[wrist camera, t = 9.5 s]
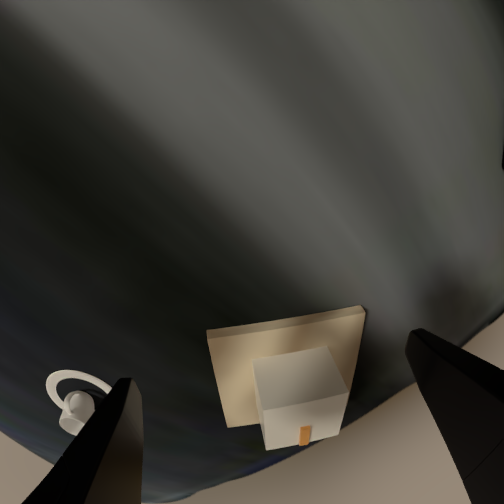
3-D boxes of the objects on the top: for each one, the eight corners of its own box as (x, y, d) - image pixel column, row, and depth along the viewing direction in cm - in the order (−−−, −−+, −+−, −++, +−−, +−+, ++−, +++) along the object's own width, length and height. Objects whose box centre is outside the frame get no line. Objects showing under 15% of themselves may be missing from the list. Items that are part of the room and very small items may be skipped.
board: (360, 304, 24) (382, 336, 21) (343, 397, 30) (357, 427, 26) (206, 330, 23) (209, 369, 20) (226, 419, 29) (231, 452, 25)
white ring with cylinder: (119, 428, 29) (116, 460, 25) (50, 408, 26) (41, 438, 23) (128, 380, 25) (122, 417, 22) (45, 355, 23) (31, 389, 19)
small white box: (326, 345, 24) (350, 395, 20) (321, 391, 27) (339, 437, 23) (251, 359, 24) (263, 414, 19) (256, 404, 27) (266, 453, 22)
